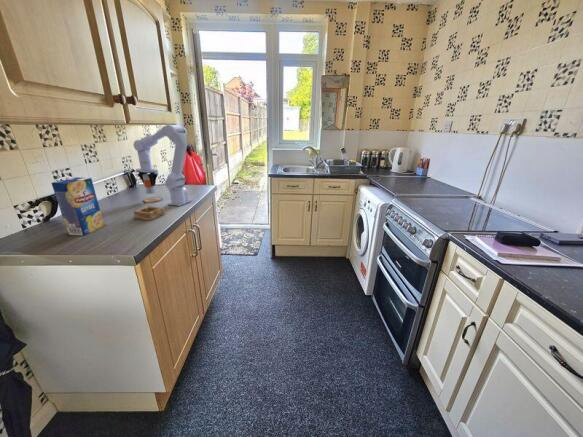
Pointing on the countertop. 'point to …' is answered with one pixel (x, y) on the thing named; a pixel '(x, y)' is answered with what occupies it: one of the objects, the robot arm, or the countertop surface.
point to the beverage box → (78, 205)
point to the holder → (148, 213)
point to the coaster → (152, 200)
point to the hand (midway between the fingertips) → (149, 185)
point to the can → (148, 185)
